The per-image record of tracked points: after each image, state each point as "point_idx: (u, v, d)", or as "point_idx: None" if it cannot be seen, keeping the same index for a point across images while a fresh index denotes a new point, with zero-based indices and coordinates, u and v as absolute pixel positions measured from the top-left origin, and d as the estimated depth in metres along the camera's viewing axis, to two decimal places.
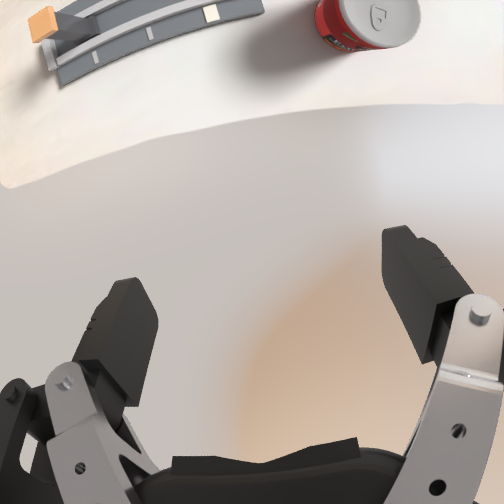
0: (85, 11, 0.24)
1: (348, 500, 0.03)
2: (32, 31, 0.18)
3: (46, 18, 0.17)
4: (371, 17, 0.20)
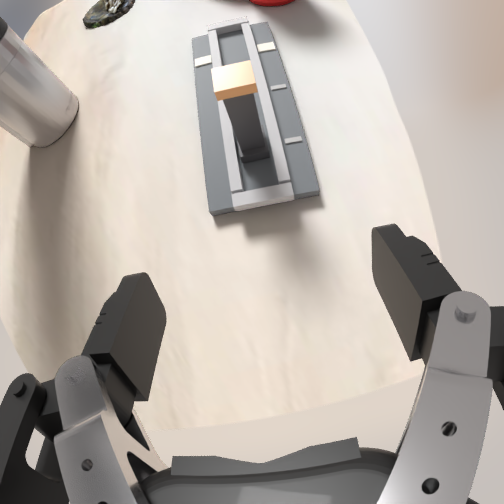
0: (226, 140, 0.29)
1: (348, 500, 0.03)
2: (237, 83, 0.19)
3: (229, 67, 0.20)
4: None
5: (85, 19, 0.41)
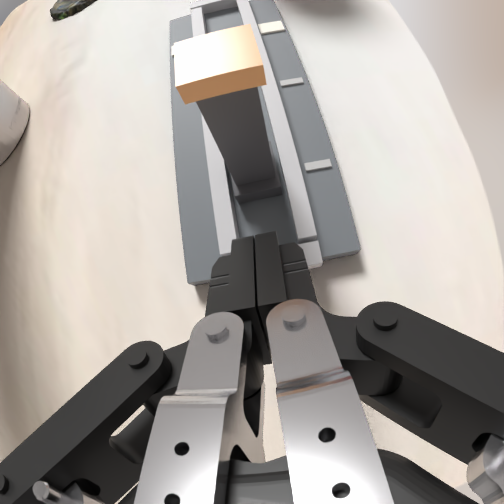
0: (212, 166, 0.18)
1: None
2: (224, 67, 0.09)
3: (208, 38, 0.09)
4: None
5: (52, 9, 0.31)
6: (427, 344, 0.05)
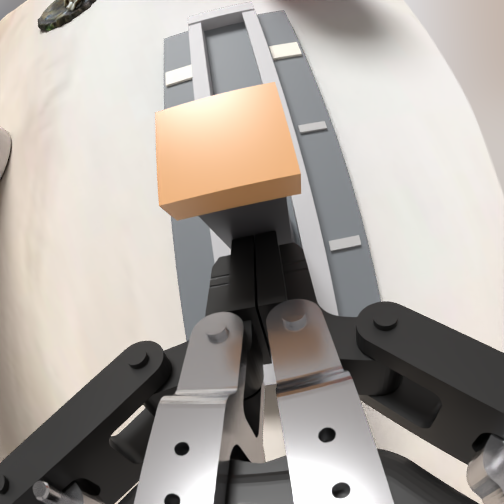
0: (218, 247, 0.15)
1: None
2: (237, 174, 0.06)
3: (208, 108, 0.06)
4: None
5: (40, 19, 0.28)
6: (427, 344, 0.05)
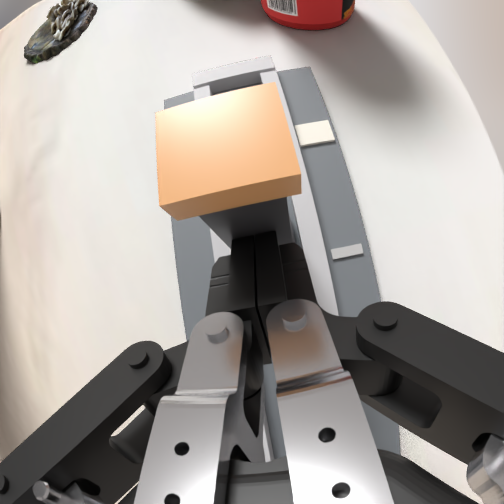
0: None
1: None
2: (237, 174, 0.06)
3: (209, 108, 0.06)
4: None
5: (26, 48, 0.26)
6: (427, 344, 0.05)
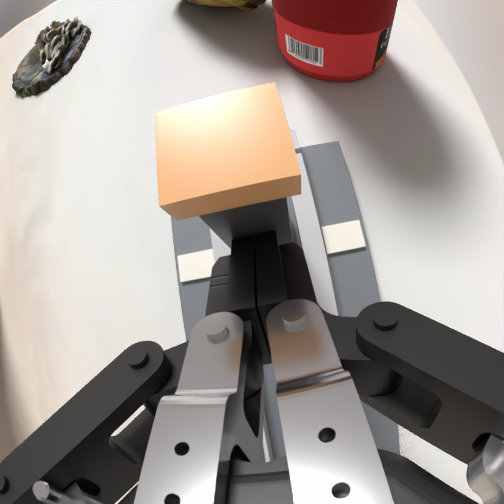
0: None
1: (348, 500, 0.03)
2: (237, 174, 0.06)
3: (209, 108, 0.06)
4: None
5: (15, 77, 0.25)
6: (427, 344, 0.05)
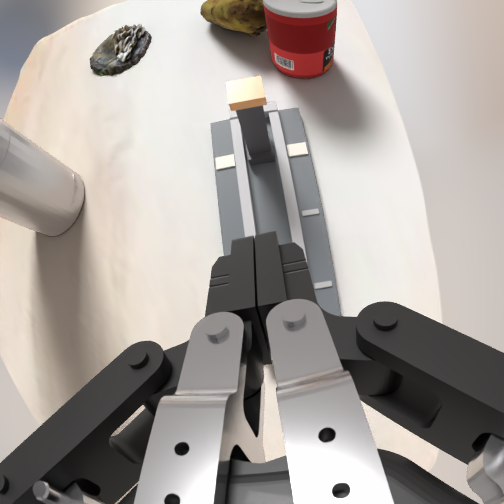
0: None
1: None
2: (249, 97, 0.22)
3: (242, 81, 0.23)
4: (313, 2, 0.25)
5: (92, 60, 0.41)
6: (427, 344, 0.05)
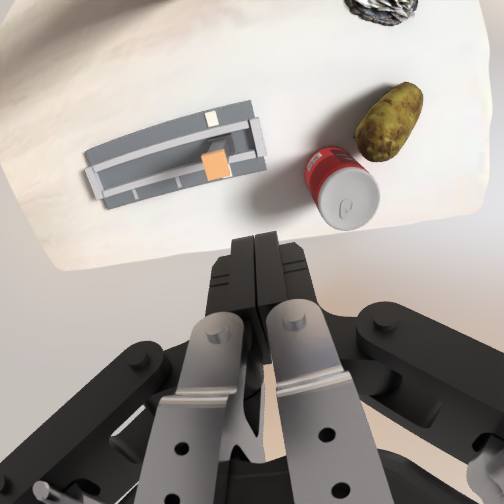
0: (123, 157, 0.41)
1: None
2: (207, 170, 0.33)
3: (223, 163, 0.33)
4: (340, 210, 0.37)
5: None
6: (427, 344, 0.05)
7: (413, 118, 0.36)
